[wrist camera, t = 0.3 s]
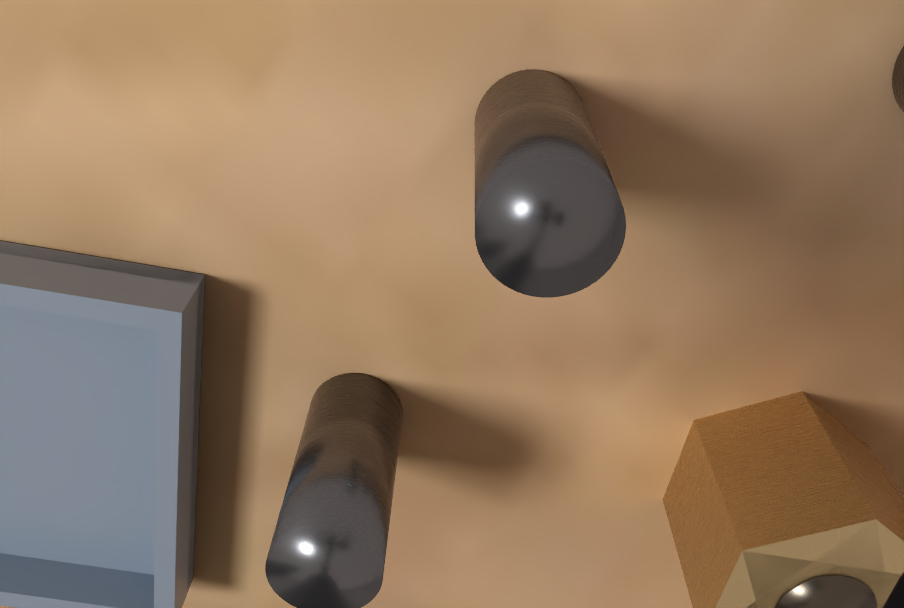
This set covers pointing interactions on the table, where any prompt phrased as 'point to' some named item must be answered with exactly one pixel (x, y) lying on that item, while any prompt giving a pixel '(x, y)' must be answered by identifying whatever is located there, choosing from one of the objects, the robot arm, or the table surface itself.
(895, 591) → the robot arm
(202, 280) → the tray
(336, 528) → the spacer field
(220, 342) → the table surface
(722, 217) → the table surface
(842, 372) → the table surface
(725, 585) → the brass nut
